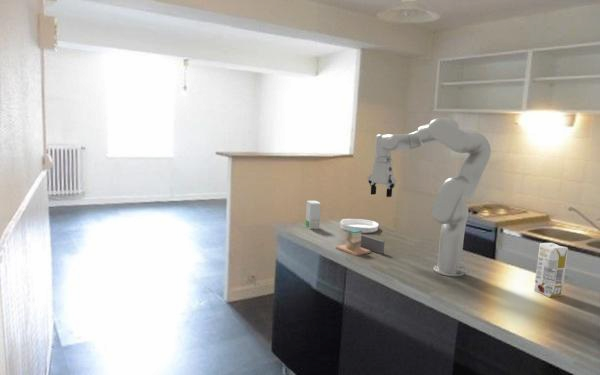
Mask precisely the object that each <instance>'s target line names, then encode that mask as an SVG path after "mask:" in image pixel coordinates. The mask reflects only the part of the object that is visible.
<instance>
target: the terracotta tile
mask: <svg viewBox="0 0 600 375" xmlns="http://www.w3.org/2000/svg"><path fill="white" fill-rule="evenodd" d="M335 249H337V250H339V251H341V252H342V251H343V252H345V253H348V254H350V255H353V256H360V255H361V256H362V255H365V254H369V253H370V254H371V250H368V249H365V248H363V247H360V249H358V250H350V249H348V248H346V243H345V244H341V245H340V244H339V245H336V246H335Z"/></svg>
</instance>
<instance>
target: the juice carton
mask: <svg viewBox="0 0 600 375" xmlns="http://www.w3.org/2000/svg"><path fill="white" fill-rule="evenodd" d="M538 247H539V249H538V255H537V264H536V271H535V277H534V279H535V280H534V286H533V289H534V292H536V293H539V294H541V295H543V296H545V297H547V298H555V297H561V296H562V294H563V288H564V282H565V274H566V267H567V259H568V250H569V247H568V246H562V245H559V244H556V243H555V242H540V243H539V246H538Z"/></svg>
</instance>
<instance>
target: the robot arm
mask: <svg viewBox="0 0 600 375" xmlns="http://www.w3.org/2000/svg"><path fill="white" fill-rule="evenodd" d="M437 142H439V143H440V144H442V145H443V146H445V147H446V148H448V149H449V150H451V151H453V152H456V153H457V154H468V155H467V157H466V158H465V159H464V161H463V162H462V165H461V168H460V169H459V172H458V174H457V175H455V176H451V177H448V178H447V179H446V180H445V181H444V182H443V183H442V185H441V186H440V188H439V192H438V194H437V196H436V199H435V201H434V203H433V206H432V209H431V210H432V211H431V212H432V218H433V219H434V220H435V222H436V223H438V224H441V227H440V232H439V233H440V234H439V241H438V242H439V244H438V254H437V264H435V265H434V266H433V268H432V269H433V271H434V272H435V273H437V274H439V275H441V276H442V275H443V276H445V277H447V276H448V277H461V276H464V275H468V274H469V271H470V269H469V268H467V267H465V266H464V265H465V264H464V263H463V262H462V261H463V260H462V259H463V250H464V249H463V248H464V239H465V232H466V231H465V230H466V226H467V221H468V218H469V213H470V212H469V207H468V204H467V203H466V202H465V201H463V200H466V199H469V198H471V197H472V196H474V194H475V192H476V190H477V189H478V185H479V184H480V181H481V179H482V177H483V174H484V171H485V169H486V167H487V165H488V163H489V160H490V158H491V154H492V153H491V152H492V150H491V143H490V142H489V140H488V138H487V137H486V136H485V135H483V134H482V133H480V132H477V131H464V130H461V129H460V125H459V123H458V121H457V120H455V119H453V118H450V117H436V118H434V119H432V120H431V121H430V123H427V124H423V125H420V126H419V127H418V128H417V130H415V131H414V132H410V133H405V134H404V133H393V134H392V133H390V134H387V133H386V134H384V133H381V134H377V135H376V136H375V145H374V146H375V149H374V152H375V153H374V162H373V166H372V170H371V174H370V175H368V176H367V180H368V183H369V186H370V195H372V196H373V195H376V194H377V184H379V185H380V184H381V185H385V186H386V187H387V188H386V198H391V197H393V196H392V195H393V189H394V188H395V186H396V184H397V182H398V180H397V179H396V178H395V176H394V169H393V163H391V162H393V158H392V151H409V150H413V149H417V148H421V147H423V146H426V145H430V144H433V143H437Z"/></svg>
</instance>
